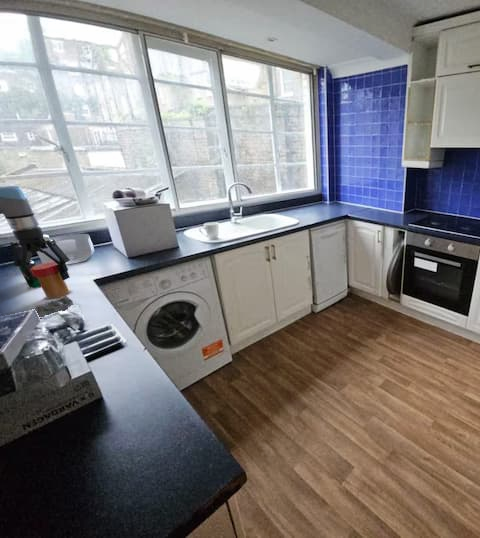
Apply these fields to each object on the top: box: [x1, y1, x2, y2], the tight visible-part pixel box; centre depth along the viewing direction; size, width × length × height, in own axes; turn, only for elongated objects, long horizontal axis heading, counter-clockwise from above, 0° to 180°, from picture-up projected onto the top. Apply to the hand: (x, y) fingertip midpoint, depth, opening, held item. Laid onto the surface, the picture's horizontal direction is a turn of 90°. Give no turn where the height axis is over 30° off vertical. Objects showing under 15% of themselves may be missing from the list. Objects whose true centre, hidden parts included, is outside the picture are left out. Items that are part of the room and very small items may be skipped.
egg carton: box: [30, 295, 74, 317], centre depth 110 cm, size 11×8×4 cm
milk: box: [36, 233, 54, 264], centre depth 141 cm, size 6×6×22 cm
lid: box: [30, 262, 59, 277], centre depth 119 cm, size 8×8×3 cm
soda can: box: [17, 259, 41, 289], centre depth 130 cm, size 5×5×12 cm
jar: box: [37, 272, 71, 300], centre depth 121 cm, size 7×7×12 cm
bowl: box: [50, 233, 95, 265], centre depth 162 cm, size 20×19×12 cm
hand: (51, 279), depth 121 cm, fingers open, 11 cm apart
